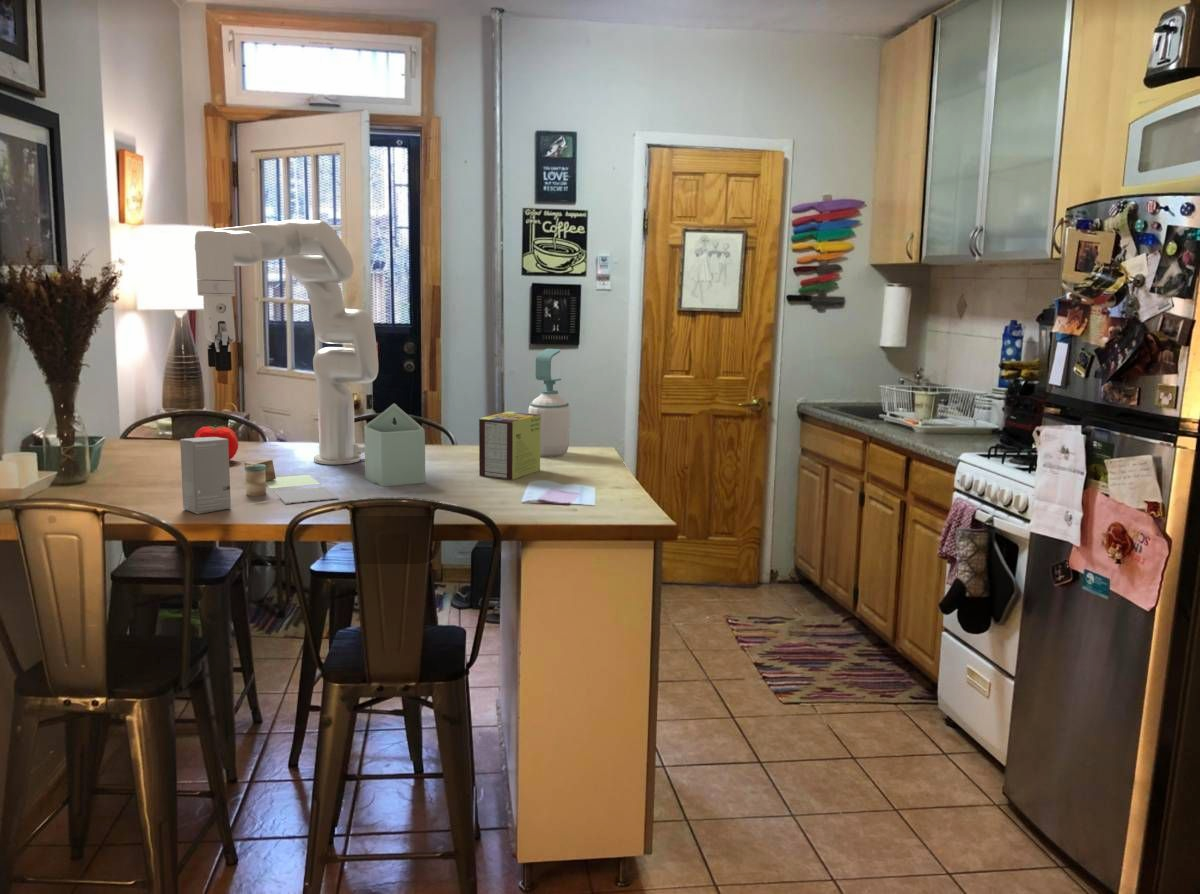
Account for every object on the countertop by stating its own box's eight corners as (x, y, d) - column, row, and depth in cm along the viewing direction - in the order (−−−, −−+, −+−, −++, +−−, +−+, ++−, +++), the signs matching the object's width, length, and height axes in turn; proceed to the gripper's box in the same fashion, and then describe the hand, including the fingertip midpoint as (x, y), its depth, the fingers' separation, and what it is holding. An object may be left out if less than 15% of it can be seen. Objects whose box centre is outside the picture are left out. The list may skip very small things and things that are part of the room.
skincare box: (196, 515, 202) (192, 442, 199) (181, 509, 207) (177, 438, 204) (233, 508, 208) (230, 438, 206) (218, 503, 213) (214, 433, 210)
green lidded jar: (264, 492, 224) (263, 463, 223) (268, 496, 221) (267, 467, 219) (244, 494, 222) (242, 465, 221) (247, 498, 218) (246, 468, 217)
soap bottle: (577, 453, 283) (579, 349, 277) (553, 460, 272) (555, 351, 267) (543, 449, 289) (545, 347, 283) (519, 454, 279) (520, 349, 273)
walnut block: (266, 476, 238) (263, 457, 237) (275, 479, 235) (272, 459, 234) (247, 481, 235) (244, 462, 234) (256, 484, 232) (253, 464, 230)
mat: (308, 476, 243) (308, 474, 243) (320, 485, 233) (320, 483, 233) (260, 480, 237) (260, 478, 237) (270, 490, 227) (270, 488, 227)
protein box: (540, 470, 258) (541, 414, 255) (512, 480, 244) (512, 421, 241) (507, 466, 262) (508, 410, 259) (477, 476, 248) (478, 417, 246)
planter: (351, 484, 235) (350, 405, 232) (366, 477, 243) (364, 401, 239) (413, 488, 232) (412, 409, 228) (425, 482, 240) (425, 405, 236)
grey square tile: (325, 488, 229) (324, 487, 229) (338, 499, 219) (338, 497, 219) (273, 493, 223) (273, 491, 223) (285, 504, 213) (285, 502, 213)
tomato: (183, 463, 254) (181, 426, 253) (215, 456, 265) (213, 420, 263) (217, 468, 250) (215, 429, 248) (248, 460, 261) (247, 423, 259)
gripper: (242, 290, 197) (245, 372, 200) (227, 288, 212) (231, 364, 215) (203, 289, 193) (207, 373, 196) (191, 287, 208) (195, 365, 211)
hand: (219, 368), depth 205 cm, fingers open, 9 cm apart
